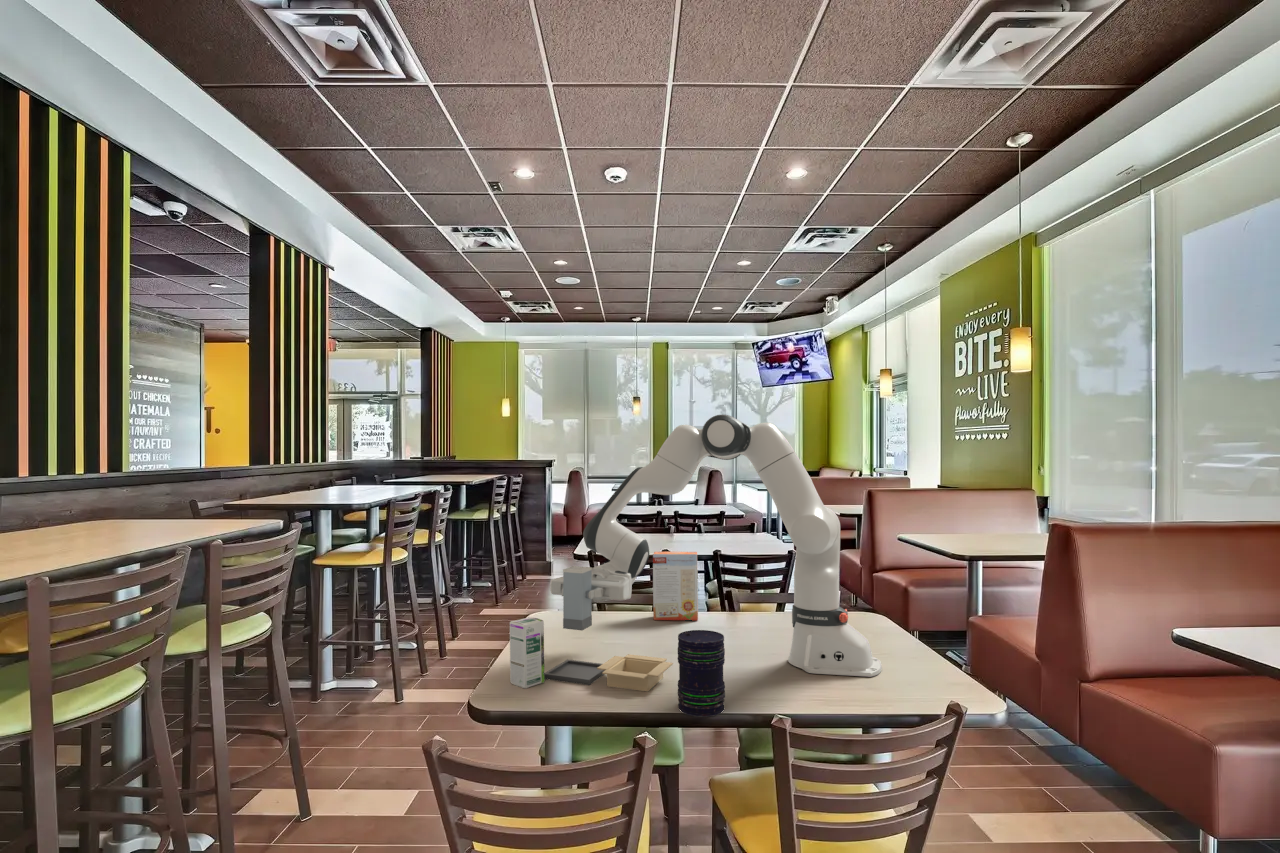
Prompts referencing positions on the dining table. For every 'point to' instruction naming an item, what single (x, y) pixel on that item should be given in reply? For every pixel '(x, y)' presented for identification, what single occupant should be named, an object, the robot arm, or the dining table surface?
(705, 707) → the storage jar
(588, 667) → the tray
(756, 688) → the dining table surface
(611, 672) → the carton
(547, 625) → the dining table surface
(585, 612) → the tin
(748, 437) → the robot arm
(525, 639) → the syrup box
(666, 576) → the cracker box
